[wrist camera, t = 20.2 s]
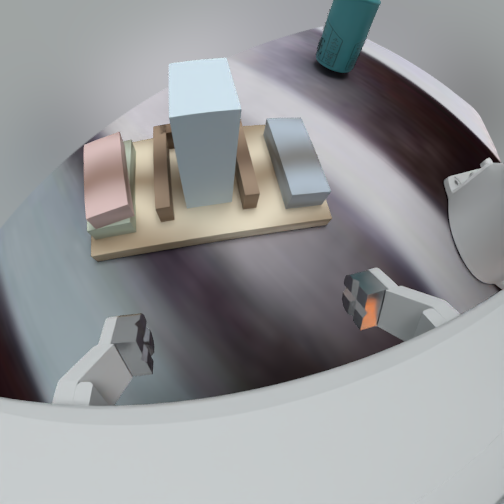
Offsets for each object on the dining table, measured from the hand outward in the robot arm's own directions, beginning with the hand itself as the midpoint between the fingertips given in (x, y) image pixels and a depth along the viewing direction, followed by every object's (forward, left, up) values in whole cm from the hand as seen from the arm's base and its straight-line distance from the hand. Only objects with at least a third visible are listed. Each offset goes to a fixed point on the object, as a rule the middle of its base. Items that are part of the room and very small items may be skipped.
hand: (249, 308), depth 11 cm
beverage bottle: (-32, -25, -13) cm, 43 cm away
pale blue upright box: (-4, -13, -11) cm, 17 cm away
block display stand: (-4, -13, -13) cm, 19 cm away
